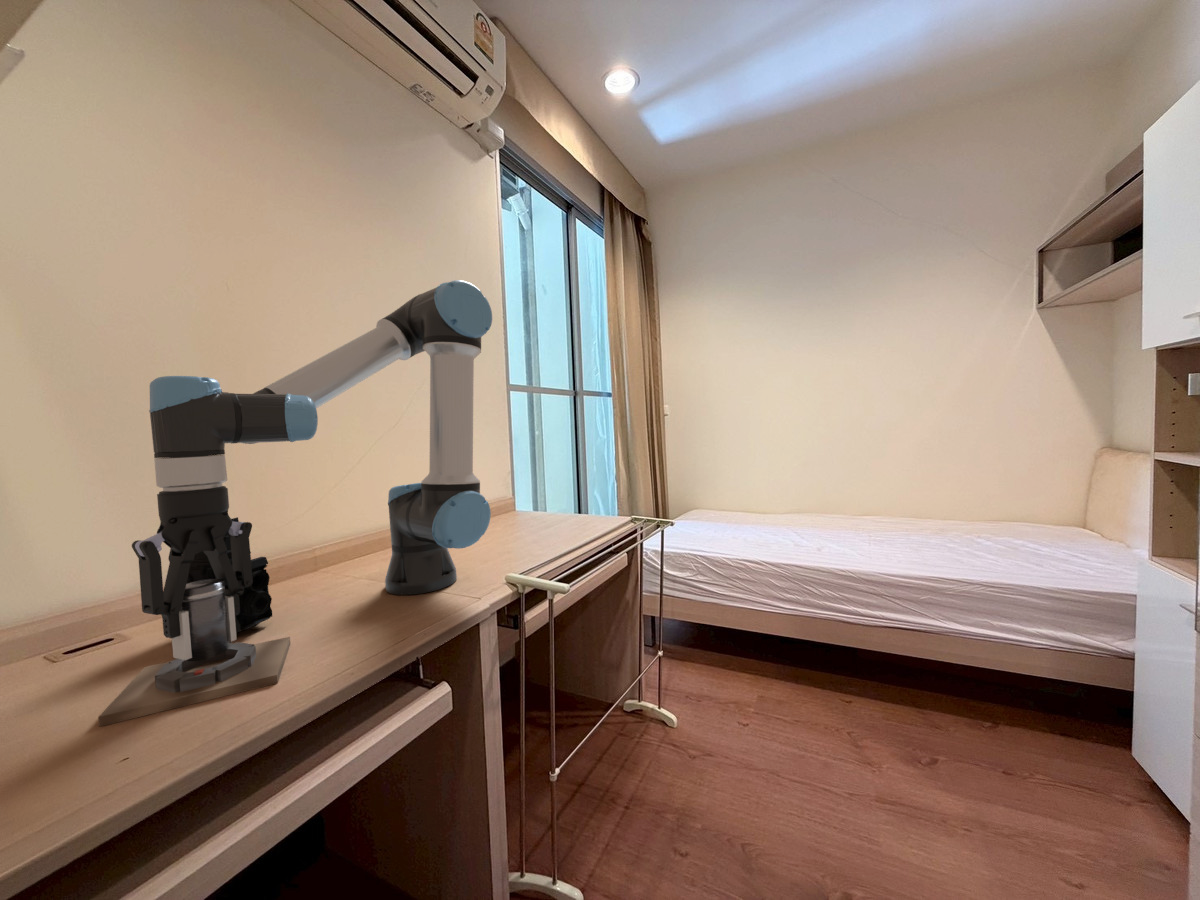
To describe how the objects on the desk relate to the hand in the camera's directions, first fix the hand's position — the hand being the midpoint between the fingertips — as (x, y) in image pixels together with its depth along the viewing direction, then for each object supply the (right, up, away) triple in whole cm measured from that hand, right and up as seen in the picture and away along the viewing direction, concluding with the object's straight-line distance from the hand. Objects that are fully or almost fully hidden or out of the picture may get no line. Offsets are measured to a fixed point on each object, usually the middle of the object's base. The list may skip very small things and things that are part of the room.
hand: (206, 647), depth 66 cm
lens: (0, -1, 0) cm, 1 cm away
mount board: (0, -5, 0) cm, 5 cm away
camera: (-10, -4, +18) cm, 21 cm away
